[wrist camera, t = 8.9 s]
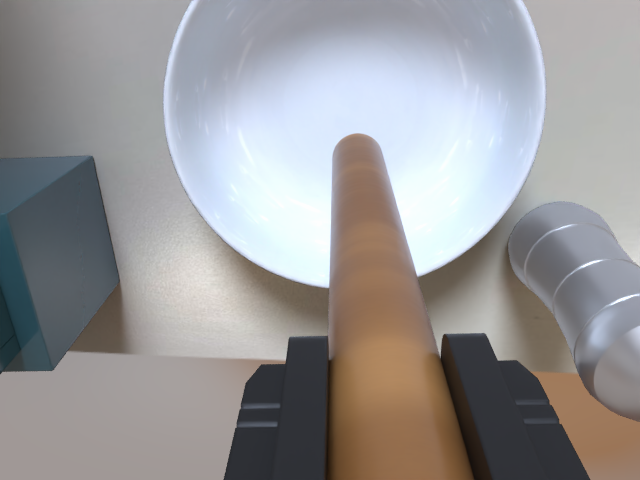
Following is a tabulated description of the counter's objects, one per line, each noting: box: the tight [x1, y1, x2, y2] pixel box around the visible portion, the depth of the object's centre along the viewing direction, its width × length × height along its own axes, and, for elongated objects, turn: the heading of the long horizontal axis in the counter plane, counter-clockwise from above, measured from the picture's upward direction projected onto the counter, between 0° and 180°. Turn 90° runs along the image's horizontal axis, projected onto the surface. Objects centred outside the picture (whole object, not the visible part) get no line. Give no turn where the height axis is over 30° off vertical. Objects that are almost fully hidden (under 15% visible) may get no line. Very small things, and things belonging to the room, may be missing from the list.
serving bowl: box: [163, 0, 546, 289], centre depth 33 cm, size 21×21×7 cm
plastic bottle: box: [508, 202, 640, 422], centre depth 31 cm, size 6×7×20 cm
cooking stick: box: [327, 133, 475, 480], centre depth 15 cm, size 2×2×20 cm
